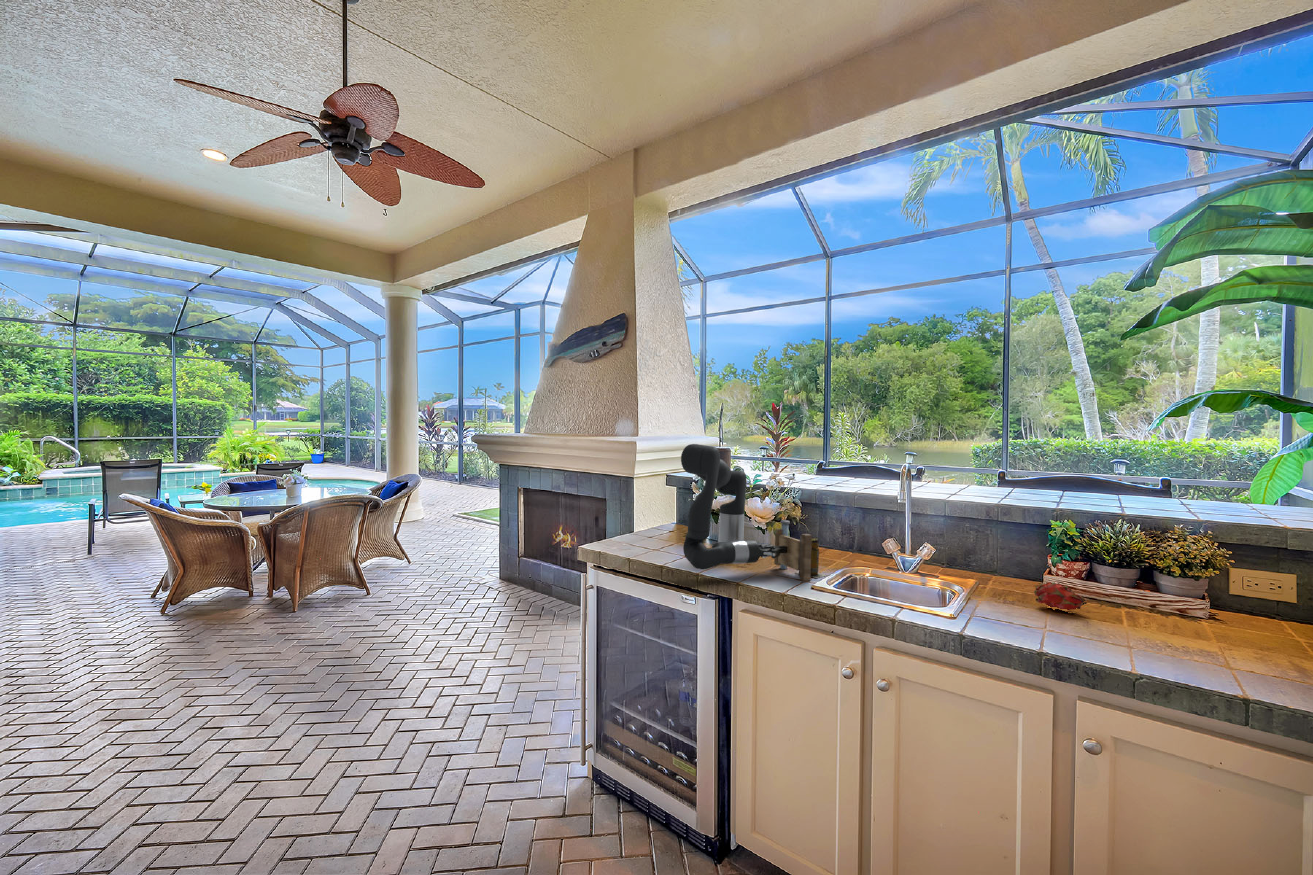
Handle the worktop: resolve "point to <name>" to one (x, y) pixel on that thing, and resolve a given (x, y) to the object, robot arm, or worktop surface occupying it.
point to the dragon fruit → (1058, 596)
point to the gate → (788, 550)
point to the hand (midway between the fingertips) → (785, 549)
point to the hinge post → (805, 557)
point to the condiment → (815, 560)
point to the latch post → (785, 532)
